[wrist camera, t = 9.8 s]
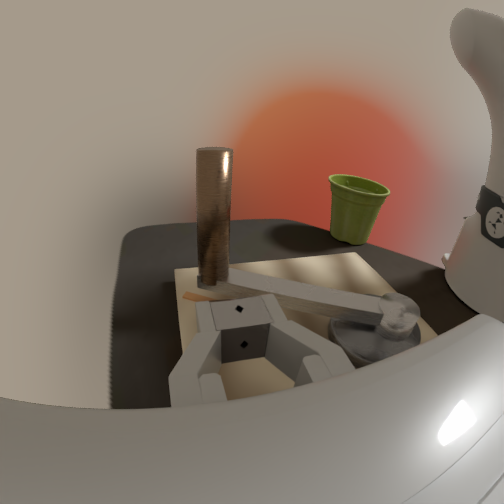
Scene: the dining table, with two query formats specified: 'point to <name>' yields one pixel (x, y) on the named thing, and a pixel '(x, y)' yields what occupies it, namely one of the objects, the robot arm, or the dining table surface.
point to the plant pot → (354, 207)
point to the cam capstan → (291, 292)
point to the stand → (297, 269)
